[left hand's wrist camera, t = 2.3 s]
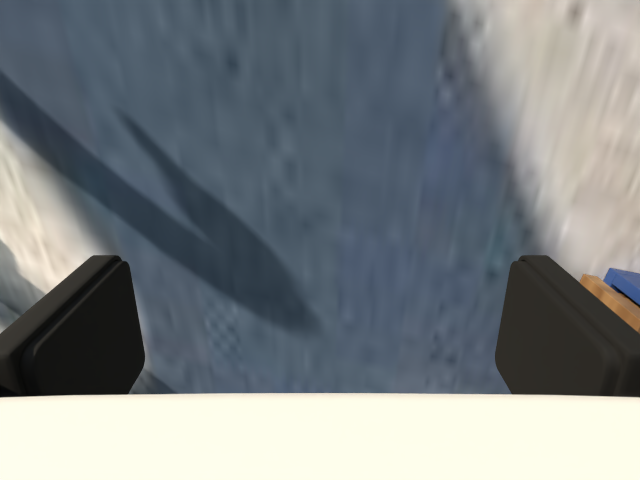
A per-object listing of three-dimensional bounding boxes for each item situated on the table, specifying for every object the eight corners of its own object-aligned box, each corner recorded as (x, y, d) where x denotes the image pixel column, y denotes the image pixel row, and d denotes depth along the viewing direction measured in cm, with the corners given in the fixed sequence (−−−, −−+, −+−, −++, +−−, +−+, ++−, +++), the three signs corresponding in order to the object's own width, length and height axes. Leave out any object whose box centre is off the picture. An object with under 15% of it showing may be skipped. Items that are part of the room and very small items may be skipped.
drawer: (475, 362, 39) (505, 423, 32) (516, 260, 35) (560, 306, 29) (695, 400, 40) (768, 467, 34) (757, 307, 37) (852, 360, 30)
